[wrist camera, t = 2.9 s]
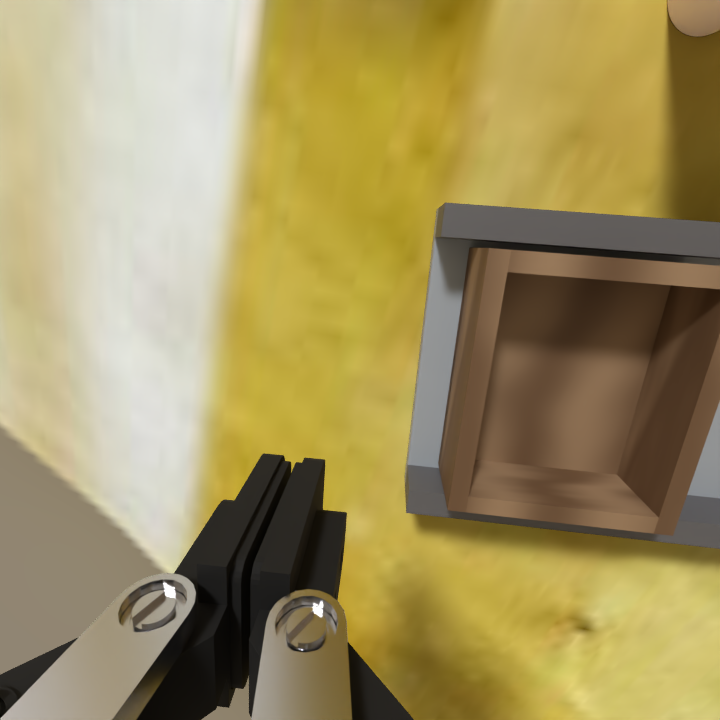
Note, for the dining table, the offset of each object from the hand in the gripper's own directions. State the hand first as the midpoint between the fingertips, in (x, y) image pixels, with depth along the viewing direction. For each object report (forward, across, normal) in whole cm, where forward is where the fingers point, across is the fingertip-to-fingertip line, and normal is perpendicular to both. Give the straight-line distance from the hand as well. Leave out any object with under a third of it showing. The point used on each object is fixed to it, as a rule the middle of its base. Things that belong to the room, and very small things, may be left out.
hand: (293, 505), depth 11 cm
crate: (+15, -13, 0) cm, 20 cm away
